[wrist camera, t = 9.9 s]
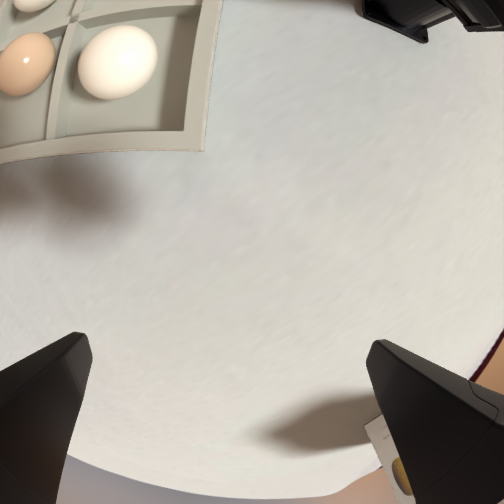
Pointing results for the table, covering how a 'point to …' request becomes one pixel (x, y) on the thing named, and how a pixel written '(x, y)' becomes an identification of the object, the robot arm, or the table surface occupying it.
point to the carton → (122, 110)
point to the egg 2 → (117, 62)
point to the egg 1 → (31, 5)
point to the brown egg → (26, 63)
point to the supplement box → (390, 459)
